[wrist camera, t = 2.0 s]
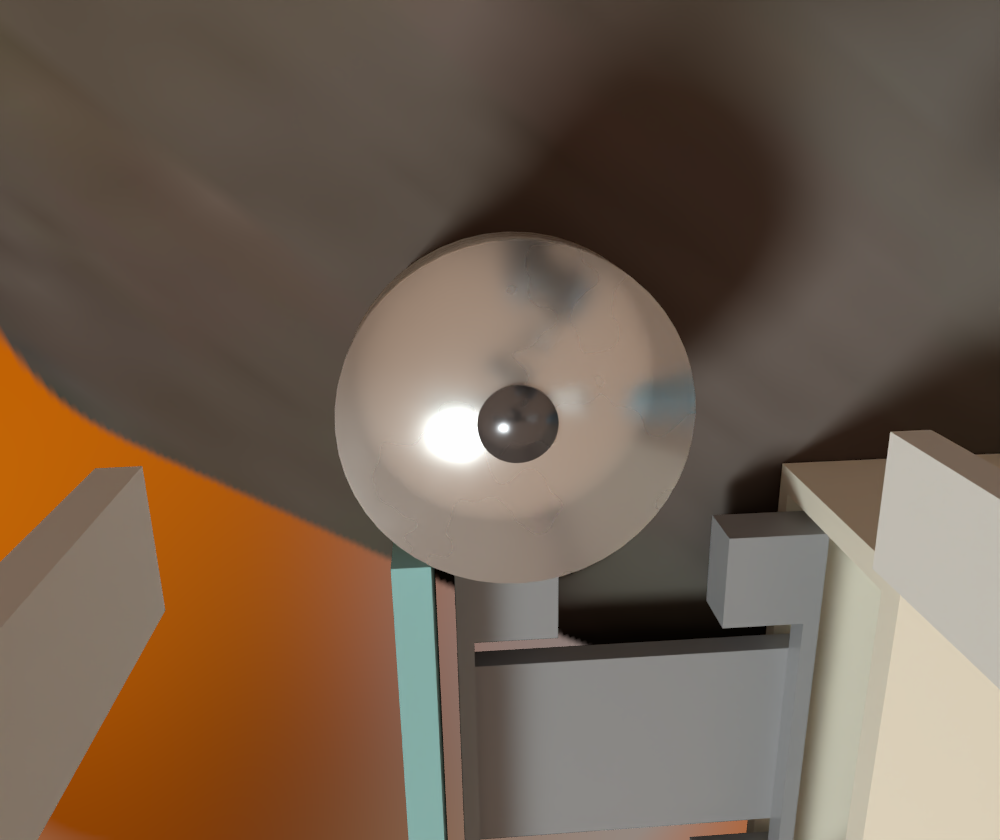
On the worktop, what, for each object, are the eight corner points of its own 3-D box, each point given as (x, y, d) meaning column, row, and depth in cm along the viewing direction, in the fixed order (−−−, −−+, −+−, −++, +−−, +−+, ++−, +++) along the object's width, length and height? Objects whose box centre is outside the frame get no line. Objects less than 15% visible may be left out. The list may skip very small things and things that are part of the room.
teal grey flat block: (424, 928, 32) (423, 1062, 27) (397, 491, 26) (390, 569, 21) (757, 901, 32) (810, 1027, 28) (802, 473, 27) (878, 543, 22)
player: (740, 897, 33) (822, 1102, 26) (782, 463, 27) (903, 578, 20) (1037, 874, 34) (1194, 1066, 27) (1141, 447, 28) (1376, 552, 21)
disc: (328, 235, 19) (318, 246, 17) (684, 226, 19) (707, 235, 18) (354, 559, 21) (348, 594, 20) (668, 543, 22) (686, 576, 20)
